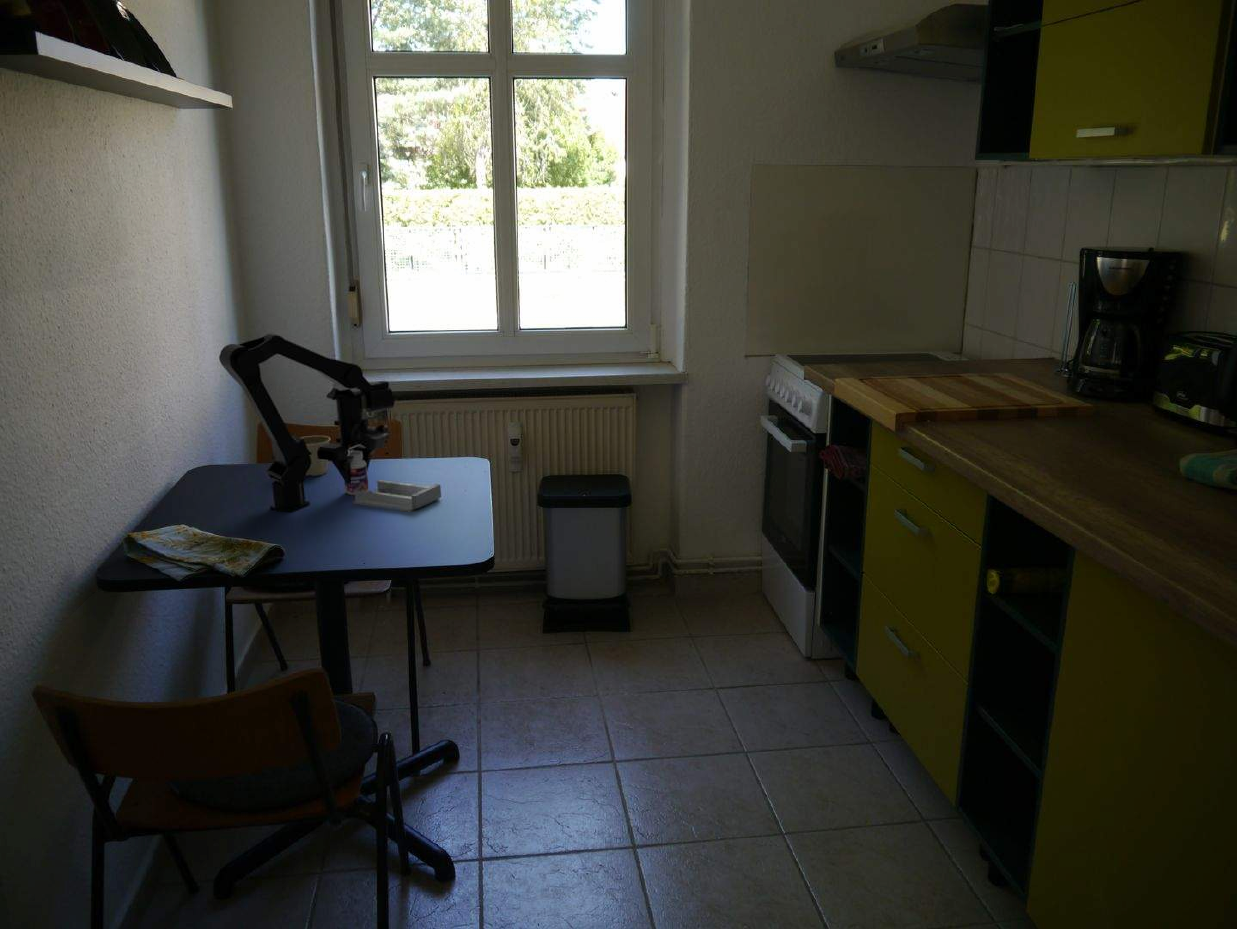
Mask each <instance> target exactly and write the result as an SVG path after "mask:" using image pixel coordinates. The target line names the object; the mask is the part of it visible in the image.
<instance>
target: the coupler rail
mask: <svg viewBox="0 0 1237 929" xmlns="http://www.w3.org/2000/svg"><path fill="white" fill-rule="evenodd" d="M441 487H442V486H441V484H438V483H436V484H433V485H431V486H430V485H423V484H422V485H421V484H412V483H406V482H398V481H393V480H392V481H390V480H383V479H379V480H377V490H375V491H374V490H373V491H372V490H368V491H366V490H355V495H354V500H352V504H354V505H362V506H368V507H375V508H382V509H389V510H395V511H402V512H410V513H411V512H413V511H415V510H417V509H419V508H421V507H423V506H425V505H428V504H430V503H432V502H434V501H436V500H439V499H440V498H441V497H442V490H441V489H442V488H441Z"/></svg>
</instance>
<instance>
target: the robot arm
mask: <svg viewBox="0 0 1237 929" xmlns="http://www.w3.org/2000/svg"><path fill="white" fill-rule="evenodd" d="M276 355H279V356H281V357H282V358H283V357H284V358H286V359H287V360H290V361H293V362H295V363H297V364H299V365H303V366H304V367H308V368H309V369H311V370H314V371H316V372H318V373H319V374H321V375H322V376H323V377H324V378H325V379H327V380H329V381H330V382H332V383H333V384H335V385H337V386H340V387H344V388H346V389H340V390H339V389H338V388H336V387H332V389H331V391H330V392H328V393H327V394H326V398H327V399H329V400H332V401H335V402H336V403H335V404H336V413H337V415H336V416H337V420H333V422H334V423H333V424H334V426H338V435H339V436H338V437H336V438H335V443H331V442H329V444H326V445H323V446H320V447H319V448H318V449H317V456H318V459H324V460H328V461H331V462H332V464H333V465H334V466H335V468H336V470H337V471H338V472H339V474H340V476H341V477H342V479H343V480H344V481H345V482H346V483H350V482H351V470H350V462H351V461H352V459H353V458H354V456H350V454H349V451H352V450H353V451H362V454H363V458H362V460H364V461H365V462H366V464H367V472H368V470H369V467H370V462H371V458H372V456H373V454H374V453H375V452H376V451H377V450H379V449H380V448H381V449H382V448H384V446H385V444H386V443H388V440H389V438H390V435H389V434H390V433H389V428H388V426H387V425H386V424H384V423H383V424H380V425H377V427H376V426H373V427H372V426H370V425H369V424H370V423H369V420H368V418H364V413H363V409H364V410H365V411H366V412H367V413H374V412H380V411H381V412H382V411H387V410H392V409H393V408H394V407H395V406H394V405H395V401H396V400H395V395H394V394H393V391H392V390H393V389H392V388H391V387H390V385H389V384H390V382H388V381H387V380H379V381H377V382H372V383H370V382H369V381H368V380H367V379H366V378H365V377H364V373H363V369H362V368H361V366H359V365H358V364H355V363H352V362H348V361H345V360H341V359H336V358H332V357H326V356H324V355H323V354H319V353H318V352H315V351H313V350H310V349H308V348H306V347H303V346H301V345H299V344H297V343H295V342H292V341H289V340H288V339H285V338H284V337H283V336H282V335H278V334H275V333H268V334H265V335H263V336H261V337H257V338H254V339H250V340H246V341H244V342H242V343H239V344H236V343H229V344H226V345H225V346H224V347H223V348H222V349H221V351H220V353H219V356H218V358H219V363H220V364H221V366H222V367H223V368H224V369H225V371H226V372H227V373H228V374H229V376H231V377H232V379H233V380H235V382H236V383H238V384H239V386H240V387H241V388H242V390H243V392H244V393H245V396H246V397H247V399H248V400H249V403H250V405H251V406H252V408H253V410H254V411H255V413H256V415H257V417H258V419H259V421H260V423H261V424H262V426H263V428H264V429H265V432H266V433H267V435H268V437H269V439H270V441H271V450H272V453H273V457H274V461H273V462H272V463H271V465H270V466H269V467H268V469H267V470H266V473H267V475H268V477H269V478H270V479H271V480H274V481H273V482H272V483H271V485H272V486H271V487H272V495H273V503H274V504H272V505H269V509H270V510H277V511H284V512H294V511H297V510H298V509H301V508H303V507H306V506H308V505H310V504H311V503H310V502H311V501H307V500H306V495H305V487H304V486H305V485H304V484H305V481H306V477H307V476H306V473H307V471H308V470H309V468H310V465H311V463H312V461H311V458H310V456H309V455H312V453H311V452H309V450H308V449H307V446H306V443H305V441H304V439H302V437H299V436H297V435H294V434H291V432H290V431H289V428H288V427H287V425H286V423H285V422H284V420H283V417H282V416H281V414H280V412H279V410H278V408H277V407H276V405H275V403H274V401H273V399H272V397H271V396H270V394H269V392H268V390H267V388H266V387H265V384H264V382H263V381H262V374H261V367H260V364H262V363H264V362H266V361H267V360H270V358H273V357H274V356H276ZM352 389H356V391H353V390H352ZM357 390H358V391H357ZM345 482H344V483H345Z"/></svg>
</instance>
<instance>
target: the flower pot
mask: <svg viewBox="0 0 1237 929" xmlns="http://www.w3.org/2000/svg"><path fill="white" fill-rule="evenodd" d="M301 438H302V439H304V441H305V443H306V446H307V449H308V450H309V452H311V453H312V455H309V456H310V458H311V461H312V463H311V465H310V468H309V470H308V471H307V473H306V477H308V476H312V477H316V476H321V475H324V474H326V473H327V472H328V461H329V460H324V459H318V456H317V449H318V448H319V447H320V446H323V445H326V444H329V443H330V441H331V437H329V436H327V435H309V436H302V437H301Z"/></svg>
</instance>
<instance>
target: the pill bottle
mask: <svg viewBox="0 0 1237 929" xmlns="http://www.w3.org/2000/svg"><path fill="white" fill-rule="evenodd" d="M349 454H350V456H354V458H353V459H352V461H351V462H350V470H351V482H350V483H346V482H345V481H344V490H345V493H346V494H347V495H351V496H355V490H366V491H369V479H368V471H367V464H366V462H365V461H364V460H362V458H363V454H362V451H354V450H349Z"/></svg>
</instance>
